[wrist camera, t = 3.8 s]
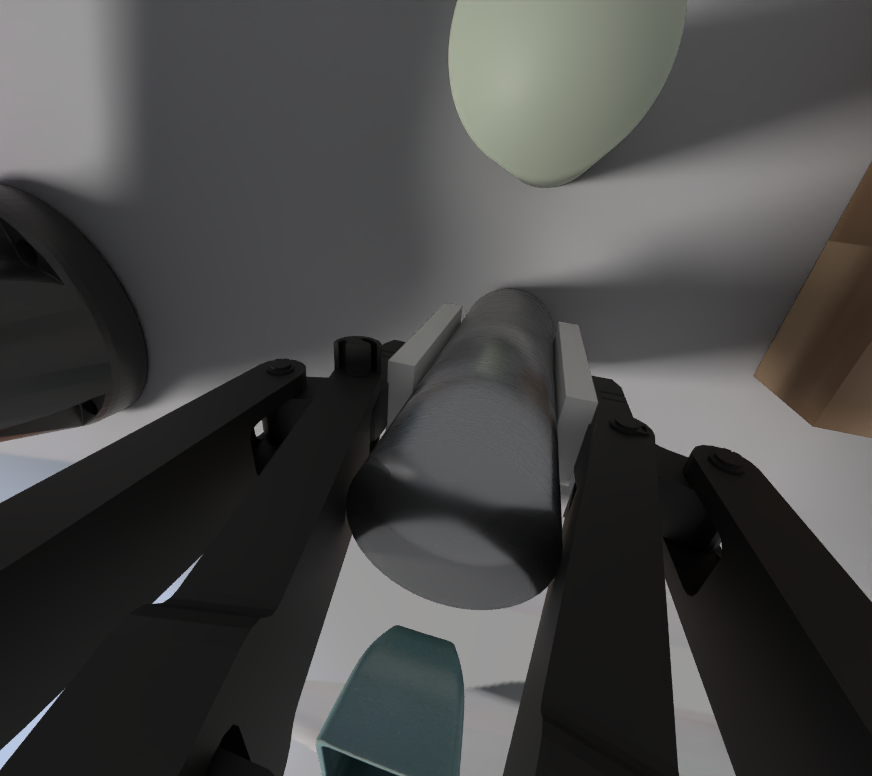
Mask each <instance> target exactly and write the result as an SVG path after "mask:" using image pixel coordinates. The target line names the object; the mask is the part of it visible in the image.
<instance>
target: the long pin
mask: <svg viewBox="0 0 872 776" xmlns="http://www.w3.org/2000/svg"><path fill="white" fill-rule="evenodd" d="M346 514H347V520H348V523H349V527H350V530H351V532H352V534H353V537H354V539H355V540H356V542H357V544H358V546H359V547H360V549H361V550H362V551H363V553H364V554H365V556H366V557H367V558H368V559H369V560H370V561H371V562H372V564H373V565H375V567H377V568H378V569H379V570H380V571H381V572H382V573H383V574H385V575H386V576H387V577H388V578H390V579H391V580H392V581H394V582H395V583H397V584H398V585H400V586H401V587H403V588H405V589H407V590H408V591H410V592H412V593H414V594H416V595H418V596H421V597H423V598H425V599H428V600H431V601H433V602H436V603H440V604H444V605H447V606H452V607H456V608H462V609H471V610H492V609H501V608H506V607H511V606H514V605H518V604H521V603H523V602H525V601H527V600H530V599H532V598H533V597H535V596H536V595H538V594H539V593H541V592H542V591H543V590H544V589H545V588H546V587H547V586H548V585H549V584H550V583H551V582H552V580H553V579H554V578H555V576H556V573H557V571H558V568H559V566H560V563H561V560H562V552H563V538H562V517H561V496H560V475H559V453H558V432H557V411H556V390H555V368H554V347H553V328H552V321H551V318H550V315H549V313H548V311H547V309H546V308H545V306H544V305H543V304H542V303H541V302H540V301H539V300H538V299H537V298H536V297H534V296H533V295H531V294H529V293H527V292H524V291H521V290H517V289H501V290H496V291H493V292H490V293H488V294H486V295H485V296H483V297H482V298H480V299H479V300H478V301H477V302H476V303H475V304H474V305H473V307H472V308H471V310H470V311H469V312H468V314H467V315H466V317H465V318H464V320H463V321H462V322H461V324H460V325H459V327H458V328H457V330H456V331H455V333H454V334H453V335H452V337H451V338H450V340H449V341H448V343H447V344H446V345H445V347H444V348H443V350H442V351H441V353H440V354H439V355H438V357H437V358H436V360H435V361H434V363H433V364H432V366H431V367H430V368H429V370H428V371H427V373H426V374H425V376H424V377H423V378H422V380H421V381H420V383H419V384H418V386H417V387H416V389H415V390H414V391H413V393H412V394H411V396H410V397H409V399H408V400H407V401H406V403H405V404H404V406H403V407H402V409H401V410H400V412H399V413H398V414H397V416H396V417H395V419H394V420H393V422H392V423H391V424H390V426H389V427H388V429H387V430H386V432H385V433H384V435H383V436H382V437H381V439H380V440H379V442H378V443H377V445H376V446H375V447H374V449H373V450H372V452H371V453H370V455H369V456H368V458H367V459H366V460H365V462H364V463H363V465H362V466H361V468H360V469H359V470H358V472H357V473H356V475H355V476H354V478H353V479H352V481H351V484H350V486H349V488H348V493H347V497H346Z"/></svg>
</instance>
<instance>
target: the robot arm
mask: <svg viewBox="0 0 872 776" xmlns="http://www.w3.org/2000/svg"><path fill="white" fill-rule="evenodd" d="M462 307H463V306H461V305H455V304H448V303H445V304H444V305H443V306H442V307H441V308H440V309H439V310H438V311H437V312H436V313H435V314H434V315H433V316H432V317H431V318H430V319H429V320H428V321H427V322H426V323H425V324H424V325H423V326H422V327H421V328H420V329H419V330H418V331H417V332H416V333H415V334H414V335H413V336H412V337H411V338H410V339H409V340H408V341H407V342H402V341H397V340H393V341H390V342H388V343H385V344H383V345H382V344H381V343H380V342H379V341H378V340H375V339H373V338H369V337H364V336H350V337H344V338H340V339H338V340H336V341H335V342H334V361H335V370H334V371H333V373H332V374H331V375H330V377H329V378H322V377H306V366H305V365H304V364H303V363H301V362H298V361H296V360H289V359H275V360H273V361H268V362H265V363H263V364H260V365H258V366H256V367H255V368H253V369H251V370H249V371H247V372H245V373H243V374H241V375H240V376H238V377H236V378H234V379H232V380H230V381H228V382H226V383H225V384H223V385H221V386H219V387H217V388H215V389H213V390H211V391H210V392H208V393H206V394H204V395H202V396H200V397H198V398H196V399H195V400H193V401H191V402H189V403H187V404H185V405H183V406H181V407H180V408H178V409H176V410H174V411H172V412H170V413H168V414H166V415H165V416H163V417H161V418H159V419H157V420H155V421H153V422H151V423H150V424H148V425H146V426H144V427H142V428H140V429H138V430H136V431H135V432H133V433H131V434H129V435H127V436H125V437H123V438H121V439H120V440H118V441H116V442H114V443H112V444H110V445H108V446H106V447H105V448H103V449H101V450H99V451H97V452H95V453H93V454H91V455H90V456H88V457H86V458H84V459H82V460H80V461H78V462H76V463H75V464H73V465H71V466H69V467H67V468H65V469H63V470H61V471H60V472H58V473H56V474H54V475H52V476H50V477H48V478H47V479H45V480H43V481H41V482H39V483H37V484H35V485H33V486H32V487H30V488H28V489H26V490H24V491H22V492H20V493H18V494H17V495H15V496H13V497H11V498H9V499H7V500H5V501H4V502H1V503H0V750H1V749H2V748H3V747H4V746H5V745H6V744H8V743H9V742H10V741H11V740H12V739H13V738H14V737H15V736H16V735H17V734H18V733H19V732H20V731H21V730H23V729H24V728H25V727H26V726H27V725H28V724H29V723H30V722H31V721H32V720H33V719H34V718H35V717H36V716H37V715H38V714H39V713H40V712H41V711H42V710H43V709H44V708H45V707H46V706H47V705H48V704H49V703H50V702H51V701H53V700H54V699H55V698H56V697H57V696H58V695H59V694H60V693H61V692H62V691H63V690H64V691H63V692H62V693H61V694H60V696H59V697H58V698H57V699H56V701H55V702H54V703H53V705H52V706H51V707H50V708H49V710H48V711H47V712H46V713H45V715H44V716H43V717H42V718H41V720H40V721H39V722H38V723H37V725H36V726H35V727H34V728H33V730H32V731H31V732H30V733H29V735H28V736H27V737H26V738H25V740H24V741H23V742H22V743H21V745H20V746H19V747H18V749H17V750H16V751H15V752H14V753H13V755H12V756H11V757H10V758H9V760H8V761H7V762H6V764H5V765H4V766H3V767H2V769H1V770H0V776H283V774H284V770H285V767H286V763H287V758H288V753H289V749H290V742H291V735H292V728H293V722H294V717H295V712H296V709H297V705H298V702H299V699H300V695H301V692H302V689H303V686H304V683H305V680H306V676H307V674H308V670H309V667H310V664H311V661H312V658H313V655H314V652H315V648H316V645H317V642H318V639H319V636H320V633H321V630H322V627H323V624H324V620H325V617H326V614H327V611H328V608H329V605H330V602H331V598H332V595H333V592H334V589H335V586H336V582H337V580H338V577H339V573H340V570H341V567H342V564H343V561H344V558H345V555H346V552H347V548H348V545H349V542H350V539H351V536H352V532H351V530H350V527H349V523H348V520H347V514H346V497H347V493H348V488H349V486H350V484H351V481H352V479H353V478H354V476H355V475H356V473H357V472H358V470H359V469H360V468H361V466H362V465H363V463H364V462H365V460H366V459H367V458H368V456H369V455H370V453H371V452H372V450H373V449H374V447H375V446H376V445H377V443H378V442H379V439H380V435H381V433H382V432H383V430H384V429H385V428H386V430H387V429H388V427H389V426H390V424H391V423H392V422H393V420H394V419H395V417H396V416H397V414H398V413H399V412H400V410H401V409H402V407H403V406H404V404H405V403H406V401H407V400H408V399H409V397H410V396H411V394H412V393H413V391H414V390H415V389H416V387H417V386H418V384H419V383H420V381H421V380H422V378H423V377H424V376H425V374H426V373H427V371H428V370H429V368H430V367H431V366H432V364H433V363H434V361H435V360H436V358H437V357H438V355H439V354H440V353H441V351H442V350H443V348H444V347H445V345H446V344H447V343H448V341H449V340H450V338H451V337H452V335H453V334H454V333H455V331H456V330H457V328H458V327H459V325H460V322H461V314H462ZM553 347H554V368H555V390H556V411H557V432H558V453H559V475H560V485H564V486H568V487H569V485H570V482H571V479H572V476H573V474H575V484H574V487H573V489H572V492H571V495H570V498H569V501H568V504H567V506H566V509H565V512H564V515H563V517H565V520H564V524H563V528H562V538H563V552H562V560H561V563H560V566H559V568H558V571H557V573H556V576H555V578H554V579H553V580H552V582H551V583H550V584H549V586H548V590H547V594H546V598H545V603H544V607H543V611H542V615H541V619H540V624H539V628H538V632H537V636H536V640H535V644H534V648H533V652H532V657H531V661H530V665H529V669H528V673H527V677H526V681H525V686H524V690H523V694H522V698H521V702H520V706H519V710H518V715H517V719H516V723H515V727H514V731H513V735H512V740H511V744H510V748H509V752H508V756H507V760H506V764H505V769H504V773H503V776H679V772H678V761H677V747H676V733H675V718H674V704H673V690H672V677H671V676H672V675H671V661H670V647H669V632H668V618H667V603H666V589H665V579H666V582H667V585H668V587H669V590H670V593H671V596H672V599H673V601H674V604H675V607H676V610H677V612H678V615H679V618H680V621H681V624H682V626H683V629H684V632H685V635H686V638H687V640H688V643H689V646H690V649H691V652H692V654H693V657H694V660H695V663H696V665H697V668H698V671H699V674H700V677H701V679H702V682H703V685H704V688H705V690H706V693H707V696H708V699H709V702H710V704H711V707H712V710H713V713H714V716H715V719H716V721H717V724H718V727H719V730H720V732H721V735H722V738H723V741H724V744H725V746H726V749H727V752H728V755H729V758H730V760H731V763H732V766H733V769H734V772H735V774H736V776H872V602H871V601H870V600H869V598H868V597H867V596H866V595H865V594H864V593H863V591H862V590H861V589H860V588H859V587H858V585H857V584H856V583H855V582H854V581H853V580H852V578H851V577H850V576H849V575H848V574H847V572H846V571H845V570H844V569H843V568H842V567H841V565H840V564H839V563H838V562H837V561H836V560H835V558H834V557H833V556H832V555H831V554H830V552H829V551H828V550H827V549H826V548H825V547H824V545H823V544H822V543H821V542H820V541H819V539H818V538H817V537H816V536H815V535H814V534H813V532H812V531H811V530H810V529H809V528H808V527H807V525H806V524H805V523H804V522H803V521H802V519H801V518H800V517H799V516H798V515H797V514H796V512H795V511H794V510H793V509H792V508H791V507H790V505H789V504H788V503H787V502H786V501H785V499H784V498H783V497H782V496H781V495H780V494H779V492H778V491H777V490H776V489H775V488H774V486H773V485H772V484H771V483H770V482H769V481H768V479H767V478H766V477H765V476H764V475H763V474H762V472H761V471H760V470H759V469H758V468H757V467H756V466H755V465H753V464H752V463H751V462H750V461H748V460H746V459H745V458H743V457H742V456H741V455H740V454H738V453H735V452H731V450H728V449H725V448H719V447H715V446H708V445H701V446H696V447H695V448H694V449H693V450H692V452H691V454H690V456H689V458H688V457H685V456H683V455H680V454H677V453H675V452H672V451H669V450H667V449H665V448H662V447H660V446H658V445H656V444H655V435H654V433H653V431H652V430H651V429H650V428H649V427H648V426H647V425H646V424H644V423H643V422H641V421H639V420H637V419H635V418H633V416H632V413H631V411H630V408H629V406H628V404H627V401H626V398H625V397H624V393H623V391H622V388H621V387H620V386H619V385H618V384H617V383H615V382H614V381H613V380H612V379H607V378H601V377H596V376H591V373H590V369H589V365H588V361H587V357H586V353H585V349H584V345H583V341H582V337H581V333H580V329H579V325H577V324H571V323H565V322H558V326H557V330H556V334H555V338H554V342H553ZM146 376H147V355H146V348H145V343H144V339H143V335H142V332H141V329H140V325H139V323H138V320H137V317H136V315H135V312H134V310H133V308H132V306H131V304H130V302H129V300H128V298H127V296H126V294H125V292H124V290H123V288H122V287H121V285H120V283H119V282H118V280H117V278H116V277H115V275H114V274H113V272H112V271H111V269H110V268H109V266H108V265H107V264H106V262H105V261H104V260H103V258H102V257H101V256H100V255H99V253H98V252H97V251H96V250H95V248H94V247H93V246H92V245H91V244H90V243H89V242H88V240H87V239H86V238H85V237H84V236H83V235H82V234H81V233H80V232H79V231H78V230H77V229H76V228H75V227H74V226H73V225H72V224H70V223H69V222H68V221H67V220H66V219H65V218H64V217H62V216H61V215H60V214H59V213H57V212H56V211H55V210H53V209H52V208H51V207H49V206H48V205H46V204H45V203H43V202H42V201H40V200H39V199H37V198H35V197H33V196H31V195H30V194H28V193H25V192H23V191H21V190H18V189H16V188H13V187H10V186H6V185H1V184H0V442H3V441H8V440H13V439H18V438H23V437H28V436H34V435H39V434H44V433H49V432H54V431H59V430H64V429H69V428H75V427H80V426H85V425H89V424H92V423H95V422H98V421H100V420H102V419H104V418H106V417H108V416H110V415H112V414H115V413H117V412H119V411H121V410H123V409H125V408H127V407H129V406H130V405H132V404H133V403H134V402H135V401H136V400H137V399H138V397H139V396H140V394H141V393H142V390H143V388H144V385H145V381H146ZM261 420H262V423H263V430H264V432H263V433H262V434H261V435H259V436H257V437H256V435H255V431H254V427H255V426H256V424H257V423H258V422H259V421H261ZM721 542H722V549H721V547H720V543H721ZM202 554H203V555H202ZM201 555H202V557H201V558H200V559H199V561H198V562H197V563H196V565H195V566H194V568H193V569H192V571H191V572H190V573H189V575H188V576H187V578H186V579H185V580H184V582H183V583H182V584H181V586H180V587H179V589H178V590H177V591H176V592H175V593H174V595H173V596H172V597H171V598H169V599H168V600H166V601H165V602H164V603H158V604H152V603H153V602H154V601H155V600H156V599H157V598H158V597H159V596H160V595H161V594H162V593H163V592H164V591H166V590H167V588H169V586H171V585H172V583H174V582H175V581H176V580H177V579H178V578H179V577H180V576H181V575H182V574H183V573H184V572H185V571H186V570H187V569H188V568H189V567H190V566H191V565H192V564H193V563H194V562H195V561H196V560H197V559H198V558H199V557H200V556H201Z"/></svg>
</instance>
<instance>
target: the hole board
mask: <svg viewBox="0 0 872 776" xmlns="http://www.w3.org/2000/svg"><path fill="white" fill-rule="evenodd" d="M754 377H755V378H756V379H758V380H759V381H760V382H761V383H762V384H763V385H765V386H766V387H767V388H768V389H769V390H771V391H772V392H773V393H774V394H775V395H776V396H778V397H779V398H780V399H781V400H782V401H783V402H785V403H786V404H787V405H788V406H789V407H790V408H792V409H793V410H794V411H795V412H796V413H797V414H799V415H800V416H801V417H802V418H803V419H805V420H806V421H807V422H808V423H809V424H810V425H812V426H813V427H818V428H823V429H828V430H834V431H839V432H844V433H849V434H854V435H859V436H865V437H870V438H872V162H871V164H870V166H869V168H868V170H867V171H866V173H865V175H864V177H863V179H862V180H861V182H860V184H859V186H858V188H857V189H856V191H855V193H854V195H853V197H852V199H851V200H850V202H849V204H848V206H847V208H846V209H845V211H844V213H843V215H842V217H841V218H840V220H839V222H838V224H837V226H836V228H835V229H834V231H833V233H832V235H831V237H830V238H829V240H828V242H827V244H826V246H825V247H824V249H823V251H822V253H821V255H820V256H819V258H818V260H817V262H816V264H815V266H814V267H813V269H812V271H811V273H810V275H809V276H808V278H807V280H806V282H805V284H804V285H803V287H802V289H801V291H800V293H799V294H798V296H797V298H796V300H795V302H794V304H793V305H792V307H791V309H790V311H789V313H788V314H787V316H786V318H785V320H784V322H783V323H782V325H781V327H780V329H779V331H778V332H777V334H776V336H775V338H774V340H773V342H772V343H771V345H770V347H769V349H768V351H767V352H766V354H765V356H764V358H763V360H762V361H761V363H760V365H759V367H758V369H757V371H756V372H755V374H754Z"/></svg>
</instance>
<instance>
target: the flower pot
mask: <svg viewBox="0 0 872 776" xmlns="http://www.w3.org/2000/svg"><path fill="white" fill-rule="evenodd" d="M463 720H464V684H463V676H462V670H461V665H460V661H459V658H458V655H457V651H456V649H455V646H454V644H453V643H451V642H449V641H447V640H444V639H440V638H437V637H434V636H431V635H427V634H424V633H421V632H417V631H414V630H411V629H408V628H405V627H402V626H399V625H396V626H393V627H392V628H390V629H389V630H388V631H386V632H385V633H384V634H382V635H381V636H380V637H379V638H378V639H377V640H376V641H374V642H373V643H372V645H370V647H369V648H368V649H367V650H366V651H365V653H364V654H363V655H362V657H361V658H360V659H359V661H358V663H357V664H356V666H355V668H354V669H353V671H352V673H351V675H350V677H349V678H348V680H347V682H346V684H345V686H344V688H343V689H342V691H341V693H340V695H339V697H338V699H337V701H336V703H335V705H334V706H333V708H332V710H331V712H330V714H329V716H328V718H327V720H326V722H325V724H324V726H323V728H322V730H321V732H320V733H319V735H318V737H317V739H316V749H317V754H318V758H319V762H320V767H321V771H322V776H459V774H460V761H461V748H462V734H463Z"/></svg>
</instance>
